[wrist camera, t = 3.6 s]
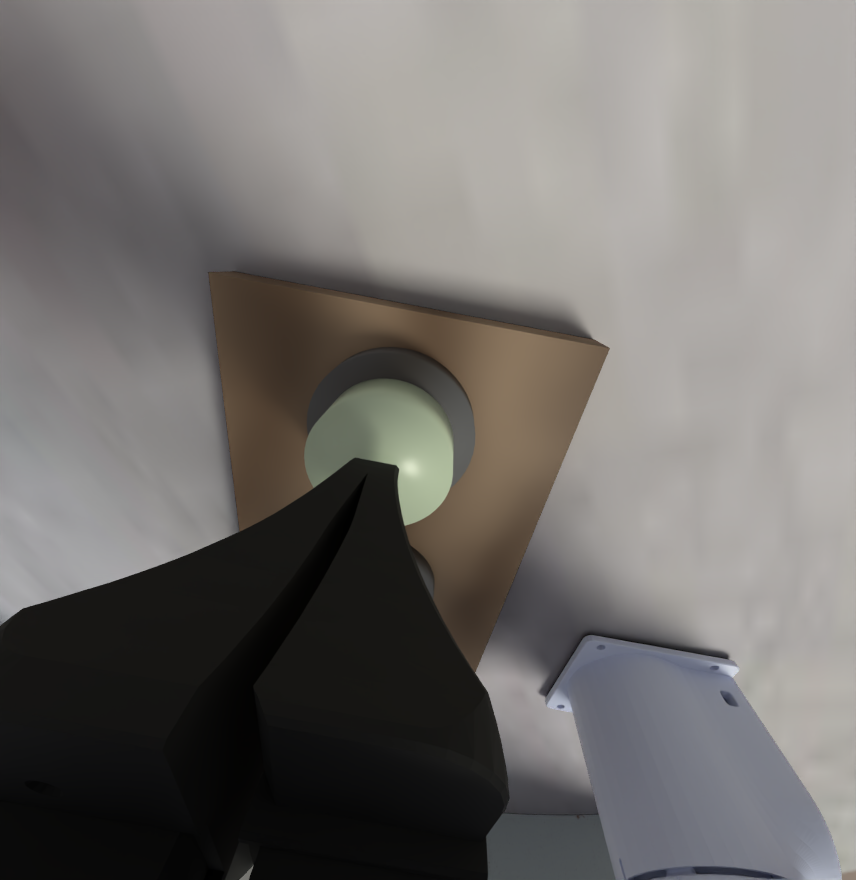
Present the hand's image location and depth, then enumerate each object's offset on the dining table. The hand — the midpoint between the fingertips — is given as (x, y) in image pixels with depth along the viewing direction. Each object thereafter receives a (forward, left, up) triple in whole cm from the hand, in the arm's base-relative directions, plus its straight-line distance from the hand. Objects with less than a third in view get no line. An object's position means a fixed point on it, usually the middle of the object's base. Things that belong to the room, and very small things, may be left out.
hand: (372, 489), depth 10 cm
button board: (0, +9, -6) cm, 11 cm away
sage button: (0, 0, -3) cm, 3 cm away
